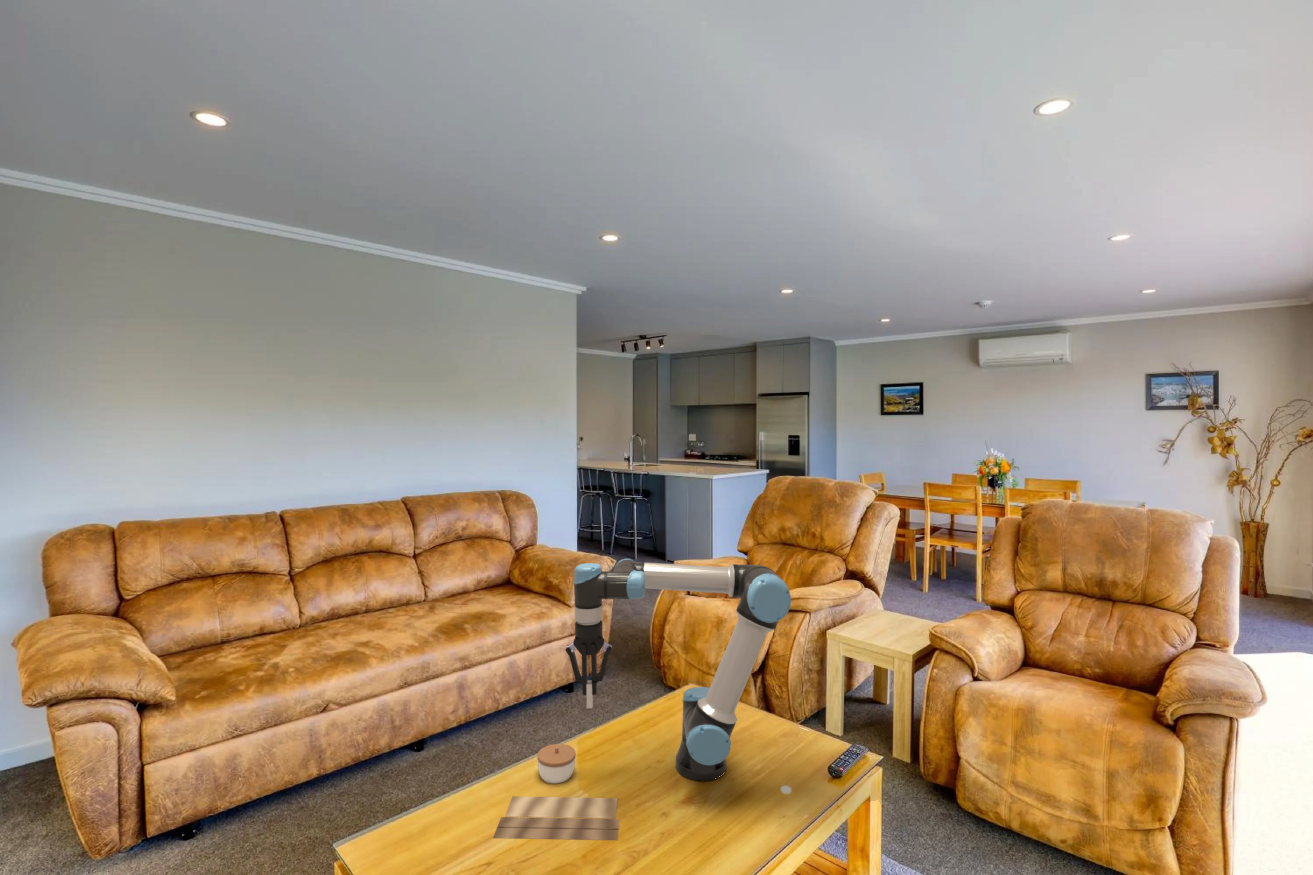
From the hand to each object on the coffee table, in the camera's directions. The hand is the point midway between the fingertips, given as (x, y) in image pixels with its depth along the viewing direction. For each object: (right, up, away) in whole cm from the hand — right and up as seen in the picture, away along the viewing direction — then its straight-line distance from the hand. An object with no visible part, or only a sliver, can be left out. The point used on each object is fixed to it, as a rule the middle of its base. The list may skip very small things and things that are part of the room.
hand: (589, 705), depth 169 cm
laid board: (-6, -24, -17) cm, 30 cm away
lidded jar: (-10, -24, +6) cm, 27 cm away
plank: (-6, -24, -9) cm, 26 cm away
